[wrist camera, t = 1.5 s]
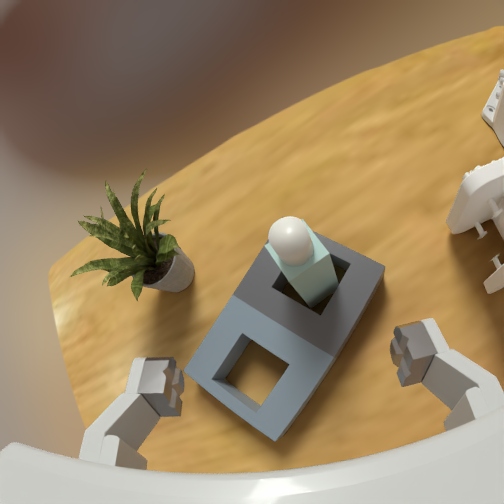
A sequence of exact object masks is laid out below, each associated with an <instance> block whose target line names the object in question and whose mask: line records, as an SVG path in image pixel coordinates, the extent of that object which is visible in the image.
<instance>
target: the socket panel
mask: <svg viewBox="0 0 504 504" xmlns="http://www.w3.org/2000/svg"><path fill="white" fill-rule="evenodd" d="M282 218H283V217H282ZM312 232H313V233H314V234H315V235H316V237H317V238H318V239H319V240H320V242H321V243H322V244H323V246H324V247H325V248H326V249H327V251H328V252H329V253H330V257H331V260H332V263H333V264H334V265H336V266H338V267H340V268H342V269H344V270H346V273H345V275H344V277H343V279H342V280H341V282H340V284H339V286H338V287H337V289H336V291H335V292H334V294H333V296H332V298H331V299H330V301H329V303H328V304H327V306H326V308H325V309H324V311H323V313H322V314H321V315H319V314H317V313H315V312H314V311H312V310H310V309H308V308H307V307H305V306H303V305H301V304H300V303H298V302H296V301H294V300H293V299H291V298H289V297H288V296H286V295H284V294H282V293H281V292H282V291H283V289H284V287H285V286H286V284H287V282H288V280H287V278H286V277H285V275H284V274H283V272H282V271H281V269H280V268H279V266H278V265H277V263H276V262H275V260H274V259H273V257H272V256H271V255H270V253H269V252H268V250H267V249H266V247H265V245H266V244H268V243H269V239H268V241H267V242H266V244H265V245H264V247H263V248H262V250H261V252H260V253H259V255H258V256H257V258H256V259H255V261H254V262H253V264H252V266H251V267H250V269H249V270H248V272H247V273H246V275H245V276H244V278H243V280H242V281H241V283H240V284H239V286H238V287H237V289H236V290H235V292H234V294H233V295H232V297H231V298H230V300H229V301H228V303H227V304H226V306H225V308H224V309H223V311H222V312H221V314H220V315H219V317H218V318H217V320H216V321H215V323H214V325H213V326H212V328H211V329H210V331H209V332H208V334H207V335H206V337H205V338H204V340H203V341H202V343H201V345H200V346H199V348H198V349H197V351H196V352H195V354H194V355H193V357H192V358H191V360H190V361H189V363H188V365H187V366H186V368H185V369H184V372H185V373H186V374H187V375H189V376H190V377H191V378H192V379H193V380H195V381H196V382H197V383H198V384H199V385H201V386H202V387H203V388H204V389H205V390H207V391H208V392H209V393H210V394H212V395H213V396H214V397H215V398H217V399H218V400H219V401H220V402H222V403H223V404H224V405H225V406H227V407H228V408H229V409H231V410H232V411H233V412H235V413H236V414H237V415H238V416H240V417H241V418H243V419H244V420H245V421H247V422H248V423H249V424H251V425H252V426H253V427H255V428H256V429H258V430H259V431H260V432H262V433H263V434H265V435H266V436H268V437H269V438H270V439H272V440H273V441H277V440H278V439H279V438H281V437H282V436H284V434H285V433H286V432H287V430H288V429H289V428H290V426H291V425H292V424H293V422H294V421H295V419H296V418H297V417H298V415H299V414H300V413H301V411H302V410H303V408H304V407H305V406H306V404H307V403H308V401H309V400H310V398H311V397H312V396H313V394H314V393H315V391H316V390H317V388H318V387H319V385H320V384H321V382H322V381H323V379H324V378H325V376H326V375H327V373H328V372H329V370H330V369H331V367H332V365H333V364H334V362H335V361H336V359H337V357H338V356H339V354H340V353H341V351H342V349H343V348H344V346H345V345H346V343H347V341H348V340H349V338H350V336H351V335H352V333H353V331H354V329H355V328H356V326H357V324H358V323H359V321H360V319H361V317H362V316H363V314H364V312H365V310H366V308H367V307H368V305H369V303H370V301H371V299H372V297H373V296H374V294H375V292H376V290H377V288H378V286H379V284H380V282H381V280H382V279H383V277H384V272H385V266H384V265H382V264H380V263H378V262H376V261H374V260H372V259H370V258H368V257H366V256H364V255H361V254H359V253H357V252H355V251H353V250H351V249H349V248H347V247H345V246H343V245H341V244H339V243H337V242H335V241H333V240H331V239H328V238H326V237H324V236H322V235H320V234H318V233H316V232H314V231H312ZM251 339H252V340H253V341H255V342H256V343H258V344H259V345H261V346H262V347H264V348H265V349H267V350H268V351H270V352H271V353H273V354H274V355H276V356H277V357H279V358H280V359H282V360H284V361H285V362H287V363H288V364H290V365H289V366H288V368H287V369H286V371H285V372H284V374H283V375H282V377H281V378H280V380H279V381H278V383H277V384H276V386H275V387H274V388H273V390H272V391H271V393H270V394H269V396H268V397H267V399H266V400H265V401H264V403H263V404H262V406H260V405H259V404H258V403H256V402H255V401H253V400H252V399H251V398H249V397H248V396H246V395H245V394H244V393H242V392H241V391H240V390H238V389H237V388H236V387H234V386H233V385H232V384H230V383H229V382H228V381H226V380H225V378H226V377H227V375H228V374H229V372H230V371H231V369H232V368H233V366H234V365H235V363H236V362H237V360H238V359H239V357H240V356H241V354H242V353H243V351H244V350H245V348H246V347H247V345H248V344H249V342H250V341H251Z"/></svg>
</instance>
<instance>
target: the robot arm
mask: <svg viewBox="0 0 504 504" xmlns="http://www.w3.org/2000/svg"><path fill="white" fill-rule="evenodd" d="M481 115H482V117H483V119H484V120H485V121H486V122H487V123H488V124H489V125H490V126H491V127H492V128H493V130H494V131H495V133H496V135H497V137H498V139H499V140H500V142H501V144H502V145H503V147H504V70H503V69H501V71H500V74H499V78H498V82H497V84H496V86H495V88H494V90H493V92H492V94H491V95H490V97H489V99H488V101H487V103H486V105H485V107H484V109H483V111H482V113H481ZM393 333H394V336H395V337H394V338H393V339H392V340H391V344H390V354H391V358H392V361H393V364H395V365H396V366H397V367H399V368H398V371H397V375H398V378H399V380H400V383H401V386H402V387H405V386H409V385H412V384H416V383H420V382H422V384H423V385H424V386H425V387H426V388H427V389H429V390H430V391H431V392H432V393H433V394H434V395H435V396H436V397H438V398H439V399H440V400H441V401H442V402H443V403H444V404H445V405H447V406H448V407H449V408H450V409H451V410H452V411H451V412H450V414H449V415H448V416H447V417H446V419H445V420H444V425H445V428H446V432H443V433H440V434H438V435H435V436H432V437H429V438H426V439H423V440H420V441H417V442H414V443H411V444H408V445H405V446H401V447H398V448H395V449H391V450H387V451H384V452H380V453H376V454H372V455H368V456H364V457H359V458H355V459H350V460H345V461H340V462H335V463H329V464H323V465H317V466H310V467H303V468H296V469H287V470H277V471H266V472H251V473H220V474H208V473H177V472H163V471H151V470H146V469H147V460H146V458H144V457H143V456H142V455H140V454H139V453H138V452H137V450H138V449H139V447H140V446H141V444H142V443H143V442H144V440H145V439H146V438H147V436H148V435H149V433H150V432H151V431H152V429H153V428H154V426H155V425H156V424H157V422H158V421H159V419H160V417H174V416H181V410H182V400H181V399H180V397H179V396H180V395H181V394H182V393H183V392H184V377H183V374H182V371H181V370H180V369H179V368H178V367H176V361H175V359H174V358H173V357H149V358H148V357H146V358H135V359H134V360H133V362H132V366H131V370H130V373H129V377H128V381H127V385H126V389H125V393H121V394H120V395H119V396H118V397H117V398H116V399H115V400H114V401H113V402H112V404H111V405H110V406H109V407H108V408H107V409H106V410H105V411H104V412H103V413H102V414H101V415H100V416H99V417H98V418H97V419H96V420H95V421H94V422H93V423H92V424H91V425H90V426H89V427H88V428H87V429H86V431H85V434H84V438H83V442H82V446H81V450H80V455H79V459H76V458H72V457H67V456H63V455H59V454H55V453H51V452H48V451H44V450H41V449H37V448H34V447H31V446H28V445H25V444H22V443H18V442H12V443H11V444H9V445H8V446H6V447H5V448H4V449H3V450H1V451H0V504H504V392H503V390H502V388H501V386H500V384H499V382H498V380H497V378H496V376H494V375H493V374H491V373H489V372H488V371H486V370H485V369H483V368H482V367H480V366H479V365H477V364H476V363H474V362H473V361H471V360H470V359H468V358H467V357H465V356H463V355H462V354H460V353H459V352H457V351H456V350H454V349H451V350H450V349H449V347H448V345H447V343H446V341H445V339H444V337H443V335H442V333H441V331H440V330H439V328H438V326H437V324H436V322H435V320H434V319H433V318H428V319H425V320H421V321H415V322H411V323H407V324H403V325H399V326H396V327H395V329H394V332H393Z"/></svg>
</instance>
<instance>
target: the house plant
mask: <svg viewBox="0 0 504 504" xmlns="http://www.w3.org/2000/svg"><path fill="white" fill-rule="evenodd" d="M145 171H146V170H145ZM145 171H144V172H143V173H142V175H141V176H140V177H139V179H138V180H137V182H136V184H135V186H134V189H133V192H132V197H131V213H132V216H133V219H134V222H135V226H136V228H135V227H134V225H133V224H132V222H131V221H130V220H129V218H128V217H127V215H126V213H125V211H124V209H123V208H122V206H121V204H120V202H119V200H118V199H117V197H116V196H115V193H114V192H112V191H111V189H110V187H109V184H108V183H107V182H105V186H106V192H107V196H108V199H109V201H110V204H111V206H112V207H113V210H114V212H115V214H116V216H117V218H118V220H119V222H120V228H118V227H117V226H116V225H114V224H113V223H111V222H109V221H107V220H105V219H104V218H103V213H102V209H101V217H102V219H101V218H97V217H92V216H84V217H86V218H88V219H90V220H91V221H93V222H96V223H98V224H100V225H98V224H90V223H88V222H85V221H81V222H79V221H78V222H79V224H80V225H81V226H82V227H83V228H84V229H85V230H86V231H88V232H89V233H90V234H92V235H90V236H95V237H97V238H98V239H100V240H101V241H102V242H104V243H105V244H106V245H108V246H109V247H111V248H114V249H116V250H118V251H120V252H121V253H124V254H126V255H128V256H131V257H126V258H118V259H117V258H110V259H99V260H94V261H90V262H89V263H87V264H85V265H84V266H82V267H80V268H78V269H77V270H75V271H74V272H73V274H72V275H71V276H74V275H77V274H80V273H83V272H87V271H92V270H98V269H101V270H106V271H108V272H110V273H109V274H108V275H107V276H106V277H105V278H104V281H103V283H102V285H103V284H104V283H105V282H107V281H108V279H109V278H110V279H109V282H108V285H107V287H108V286H113V285H116V284H118V283H119V282H121V281H123V280H124V279H126V278H127V277H129V276H132V277H133V281H132V284H131V289H132V292H133V294H134V296H135V298H136V299H137V301H138V297H139V295H140V293H141V291H142V287H143V286H144V287H148V288H153V289H158V290H164V291H169V292H180V291H182V290H184V289H186V288H187V287H188V286H189V285H190V284H191V282H192V280H193V277H194V266H193V263H192V262H191V261H190V259H189V258H188V257H187V256H186V255H185V254H184V252H183V251H182V250H181V248H180V247H179V246H178V244H177V241H176V239H175V237H173V236H172V235H169V234H168V235H167V234H165V233H159V232H158V226H159V225H162V224H164V223H166V222H167V221H171V220H158V216H159V210H160V204H161V202H162V200H163V198H164V195H165V194H164V195H163V196H162V198H161V199H160V200H159V201H158V203H157V204H156V205H153V206H151V200H152V197H153V196H154V194H155V192H156V190H157V189H155V191H154V192H153V193H152V194H151V195H150V197H149V198H148V200H147V203H146V207H145V215H144V220H143V232H144V235H143V232H142V229H141V226H140V222H139V217H138V205H137V203H138V195H139V187H140V183H141V181H142V179H143V177H144V175H145ZM150 206H151V207H150ZM153 213H154V216H153V221H152V222H150V221H151V218H152V215H153ZM153 228H154V232H155V233H153V234H152V232H151V230H152V229H153ZM136 229H137V230H136ZM117 267H118V268H117ZM71 276H70V277H71Z"/></svg>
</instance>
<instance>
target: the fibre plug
mask: <svg viewBox="0 0 504 504" xmlns="http://www.w3.org/2000/svg"><path fill="white" fill-rule="evenodd" d="M268 239H269V243H268V244H266V245H265V247H266V249H267V250H268V252H269V253H270V255H271V256H272V257H273V259H274V260H275V262H276V263H277V265H278V266H279V268H280V269H281V271H282V272H283V274H284V275H285V277H286V278H287V280H288V281H289V282H290V284H291V285H292V286H293V287H294V289H295V290H296V291H297V292H298V293H299V295H300V296H301V297H302V298H303V299H304V301H305V302H306V303H307V304H308V306H309V307H310V308H312V307H314V306H315V305H317V304H318V303H320V302H321V301H322V300H324V299H325V298H327V297H328V296H329V295H331V294H332V293H334V292H335V291H336V289H337V287H338V286H339V283H338V280H337V276H336V273H335V270H334V266H333V263H332V260H331V257H330V253H329V252H328V251H327V249H326V248H325V247H324V246H323V244H322V243H321V242H320V240H319V239H318V238H317V237H316V235H315V234H314V233H313V232H312V230H311V229H310V228H309V227H308V225H307V224H306V223H305V222H304V220H303V219H302V220H300V219H298V218H296V217H284V218H281V219H279V220H277V221H276V222H275V223H274V224H273V225H272V227H271V228H270V231H269V235H268Z"/></svg>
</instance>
